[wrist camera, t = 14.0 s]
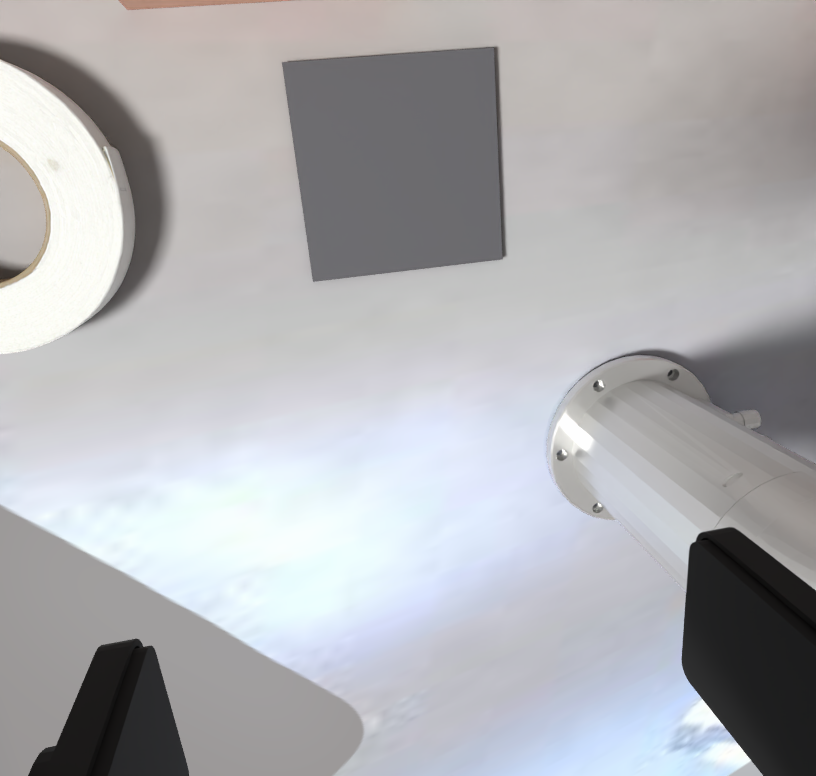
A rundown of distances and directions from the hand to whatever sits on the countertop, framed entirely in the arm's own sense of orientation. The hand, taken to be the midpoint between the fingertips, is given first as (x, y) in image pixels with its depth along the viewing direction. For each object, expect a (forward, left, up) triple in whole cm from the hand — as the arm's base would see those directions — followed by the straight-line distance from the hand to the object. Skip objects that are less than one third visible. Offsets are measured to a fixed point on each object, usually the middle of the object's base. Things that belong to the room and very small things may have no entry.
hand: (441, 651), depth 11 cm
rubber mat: (-5, -8, -30) cm, 32 cm away
